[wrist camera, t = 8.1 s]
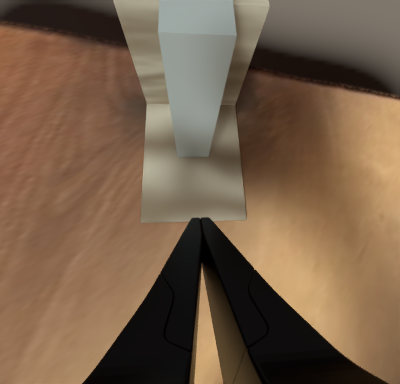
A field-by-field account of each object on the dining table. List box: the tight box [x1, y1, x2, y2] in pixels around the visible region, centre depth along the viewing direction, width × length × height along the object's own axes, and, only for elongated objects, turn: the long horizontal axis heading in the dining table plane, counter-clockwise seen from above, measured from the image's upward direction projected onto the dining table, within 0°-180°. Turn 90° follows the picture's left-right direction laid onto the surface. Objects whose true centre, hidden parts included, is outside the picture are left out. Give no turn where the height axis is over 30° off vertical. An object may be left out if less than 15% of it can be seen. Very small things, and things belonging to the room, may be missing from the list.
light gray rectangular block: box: [158, 0, 237, 157], centre depth 14 cm, size 6×4×12 cm
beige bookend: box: [113, 0, 269, 223], centre depth 15 cm, size 16×11×10 cm
